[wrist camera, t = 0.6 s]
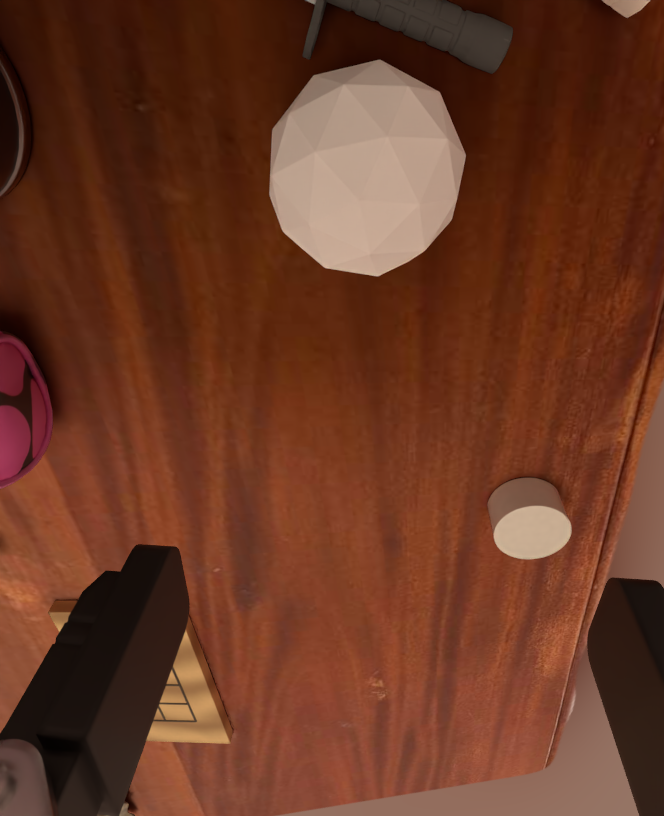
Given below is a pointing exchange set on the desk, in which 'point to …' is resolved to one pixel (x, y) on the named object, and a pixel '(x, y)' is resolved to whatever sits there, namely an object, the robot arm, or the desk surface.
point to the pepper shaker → (626, 6)
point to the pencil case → (21, 410)
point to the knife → (429, 27)
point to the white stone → (528, 518)
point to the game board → (180, 693)
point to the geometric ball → (365, 168)
